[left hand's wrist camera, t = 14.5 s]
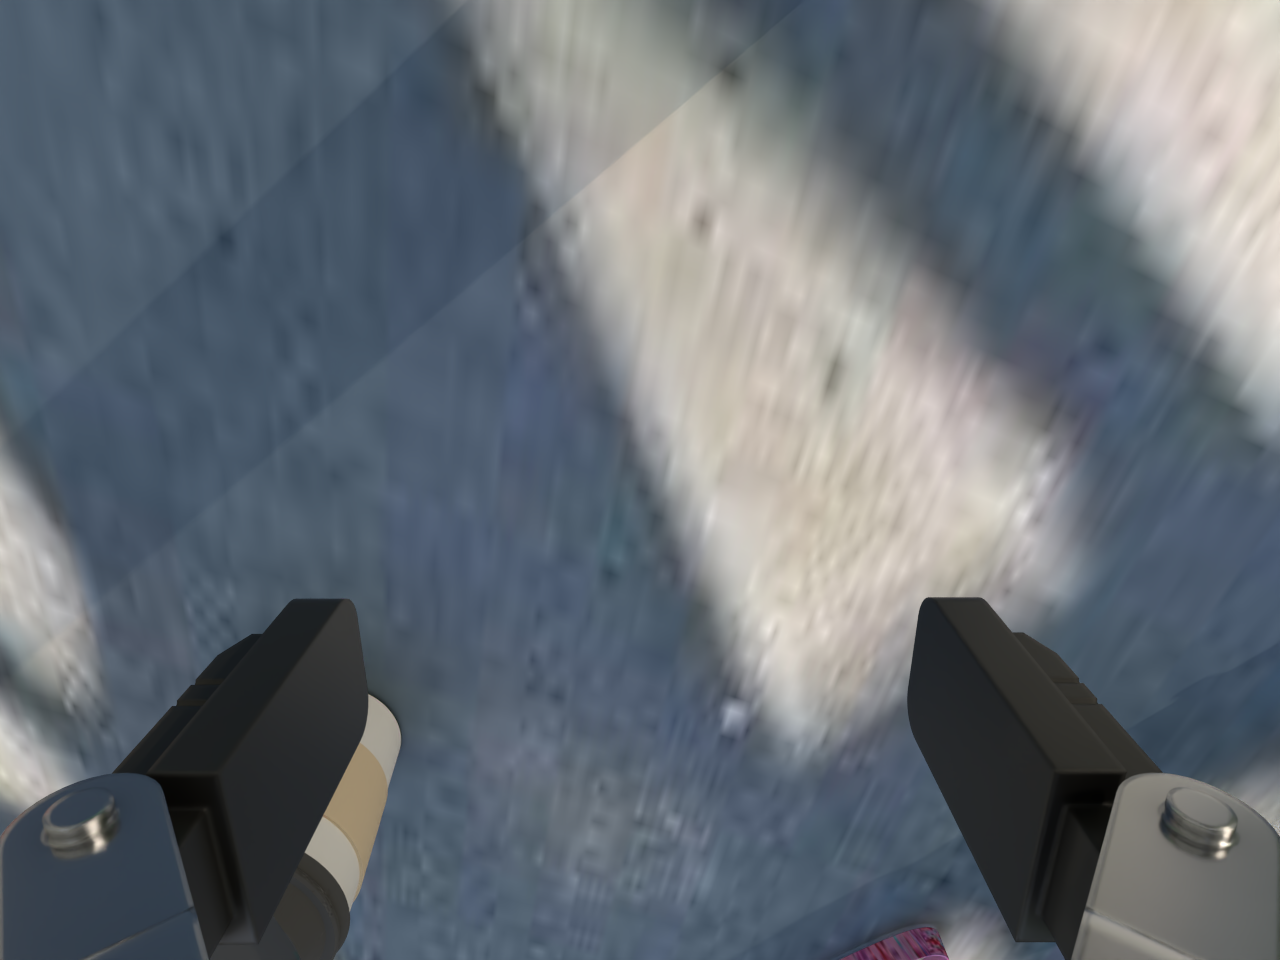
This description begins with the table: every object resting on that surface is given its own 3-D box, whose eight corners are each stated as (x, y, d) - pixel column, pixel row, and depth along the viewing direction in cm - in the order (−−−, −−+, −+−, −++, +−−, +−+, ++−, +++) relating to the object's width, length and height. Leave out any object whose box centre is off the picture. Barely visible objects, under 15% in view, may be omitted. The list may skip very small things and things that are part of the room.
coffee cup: (310, 806, 50) (183, 1047, 36) (244, 693, 47) (78, 907, 33) (442, 773, 49) (363, 1006, 35) (383, 654, 46) (272, 858, 32)
